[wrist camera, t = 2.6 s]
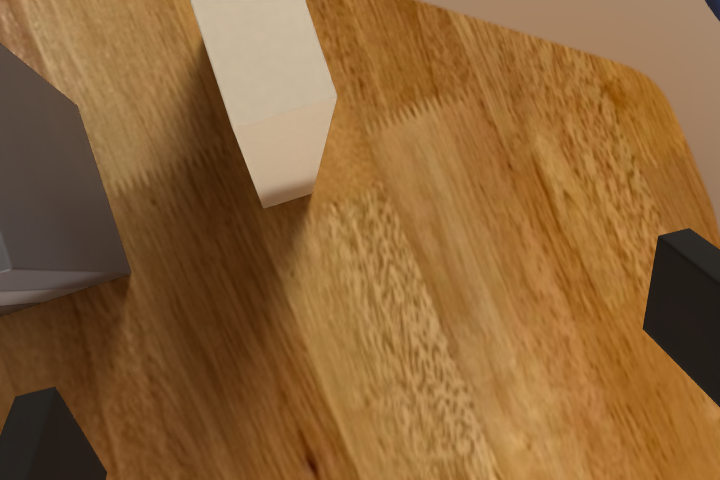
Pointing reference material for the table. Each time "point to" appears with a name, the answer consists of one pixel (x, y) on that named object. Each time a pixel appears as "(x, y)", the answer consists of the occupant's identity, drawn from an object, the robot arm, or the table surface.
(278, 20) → the white book
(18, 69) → the grey book row
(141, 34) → the table surface
